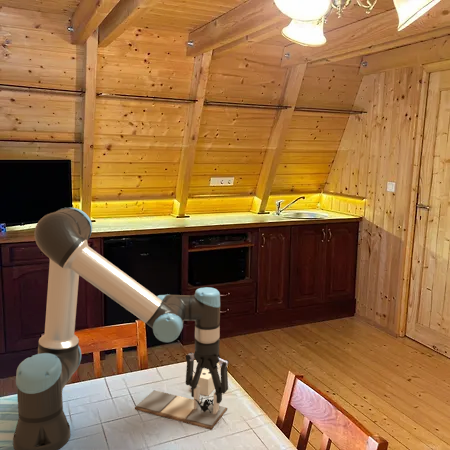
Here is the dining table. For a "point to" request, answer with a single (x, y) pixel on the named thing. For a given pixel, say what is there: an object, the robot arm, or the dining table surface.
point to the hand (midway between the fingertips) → (206, 409)
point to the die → (205, 383)
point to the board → (180, 409)
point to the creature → (205, 404)
